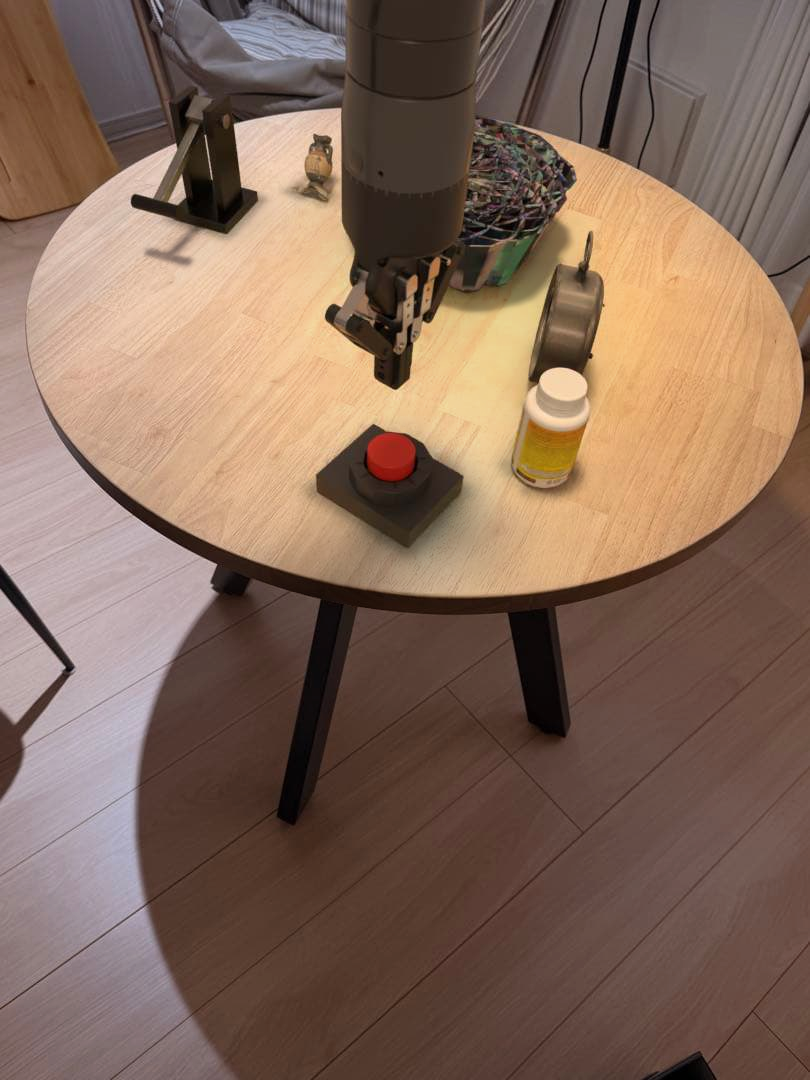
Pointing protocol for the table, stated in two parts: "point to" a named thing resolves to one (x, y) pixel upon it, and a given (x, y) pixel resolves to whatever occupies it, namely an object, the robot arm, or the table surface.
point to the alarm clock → (568, 318)
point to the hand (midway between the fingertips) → (392, 380)
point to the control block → (390, 489)
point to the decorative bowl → (507, 202)
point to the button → (391, 457)
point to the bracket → (223, 195)
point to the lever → (176, 165)
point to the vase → (318, 165)
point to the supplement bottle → (551, 428)
